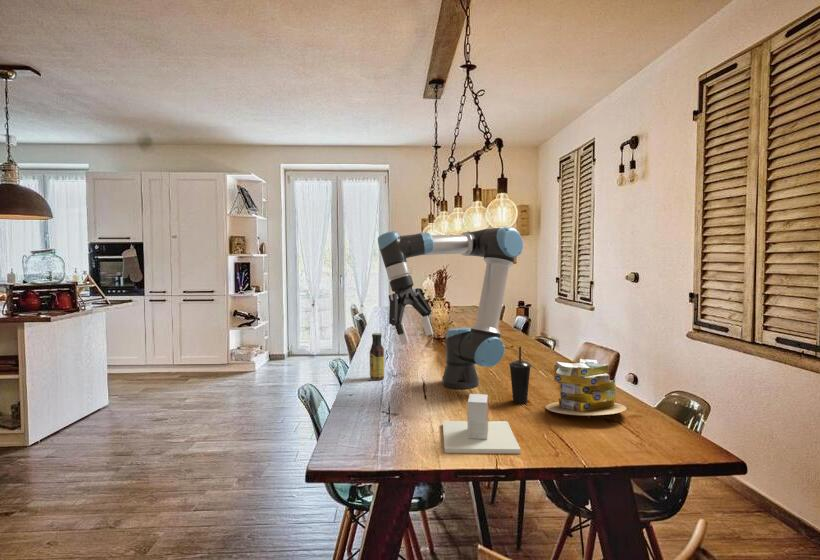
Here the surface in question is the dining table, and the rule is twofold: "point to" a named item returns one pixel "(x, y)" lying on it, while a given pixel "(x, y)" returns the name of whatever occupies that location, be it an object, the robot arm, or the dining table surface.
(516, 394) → the drinking cup
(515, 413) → the dining table surface
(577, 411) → the stacked boxes on plate
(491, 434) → the white square board
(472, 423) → the small box
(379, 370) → the sauce bottle
